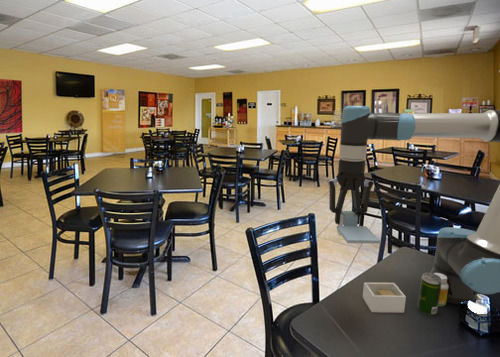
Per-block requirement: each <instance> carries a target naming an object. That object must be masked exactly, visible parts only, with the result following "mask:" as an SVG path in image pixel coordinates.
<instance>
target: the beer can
mask: <svg viewBox="0 0 500 357" xmlns="http://www.w3.org/2000/svg"><path fill="white" fill-rule="evenodd" d="M419 286H420V287H419V293H418V301H417V309H418V311H419V312H421V313H422V314H425V315H427V316H435V315H437V313H438V308H439V306H438V302H439V295H440V289H441V278H440V277H439V276H438V275H436V274H433V273H430V272H424V273H422V276H421V278H420V285H419Z"/></svg>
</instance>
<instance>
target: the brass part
mask: <svg viewBox="0 0 500 357" xmlns="http://www.w3.org/2000/svg"><path fill="white" fill-rule="evenodd" d="M377 295H389V296H396V295H395V294H393V293H392V292H391V291H390V290H388V289H386V290H379V291H377Z"/></svg>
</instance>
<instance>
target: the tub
mask: <svg viewBox="0 0 500 357" xmlns="http://www.w3.org/2000/svg"><path fill="white" fill-rule="evenodd" d="M386 289H388V290H390V291H391V292H392V293H393V294H395V295H396V296H389V295H377V291H379V290H386ZM362 299H363V300H364V302H365V304H366V305H367V307H368V308H369V311H370V312H371V313H397V314H398V313H405V306H406V300H407V297H406V295H405V294H404V292H402V290H401V289H400V287H399V286H398V285H397V284H396V283H395V282H363V291H362Z"/></svg>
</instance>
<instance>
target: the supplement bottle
mask: <svg viewBox="0 0 500 357" xmlns="http://www.w3.org/2000/svg"><path fill="white" fill-rule="evenodd" d="M434 274H436V275H438V276H439V277H440V278H441V289H440V295H439V302H438V307H444V306H445V305H447V302H446V300H447V293H448V287H449V286H448V284H447V276H445V275H444V274H441V273H434Z"/></svg>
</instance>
